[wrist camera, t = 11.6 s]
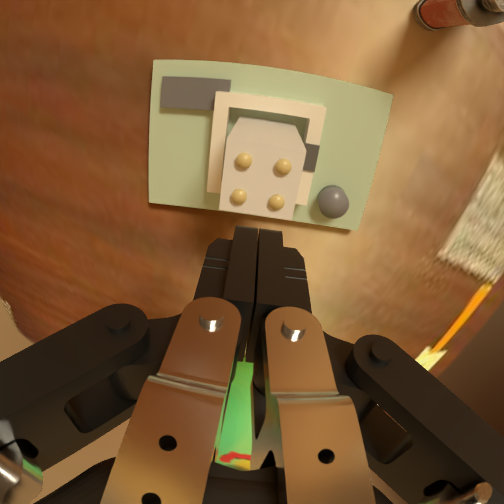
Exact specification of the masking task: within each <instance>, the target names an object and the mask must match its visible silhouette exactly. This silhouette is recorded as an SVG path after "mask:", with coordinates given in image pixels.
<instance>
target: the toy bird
mask: <svg viewBox="0 0 504 504" xmlns="http://www.w3.org/2000/svg"><path fill="white" fill-rule="evenodd" d="M245 359H246V357H244V359H243V362H239V361H238V362H237V368H236V374H235V378H234V380H233V382H232V384H231V389H230V394H229V399H228V404H227V409H226V414H225V419H224V424H223V429H222V434H221V439H220V444H219V450H218V456H217V461H216V463H219V464H222V465H225V466H227V467H230V468H233V469H236V470H240V471H250V460H251V451H252V424H251V395H250V384H251V380H252V376H253V363H249V362H245Z"/></svg>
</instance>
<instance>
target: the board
mask: <svg viewBox="0 0 504 504" xmlns="http://www.w3.org/2000/svg"><path fill="white" fill-rule="evenodd" d="M392 100H393V94H390V93H386V92H383V91H379V90H376V89H372V88H369V87H365V86H361V85H358V84H354V83H350V82H346V81H341V80H337V79H333V78H328V77H323V76H319V75H314V74H308V73H303V72H298V71H292V70H286V69H279V68H272V67H265V66H257V65H249V64H239V63H228V62H215V61H197V60H154V62H153V74H152V88H151V104H150V127H149V203H158V204H167V205H176V206H184V207H193V208H201V209H209V210H217V211H224V210H219V205H220V195H221V186H222V176H223V167H224V159H225V150H226V141H227V137H228V136H229V134H230V132H231V131H232V129H233V127H234V126H235V124H236V122H237V121H238V119H239V117H240V116H247V117H255V118H261V119H268V120H274V121H281V122H286V123H292V124H295V126H296V128H297V130H298V133H299V135H300V137H301V139H302V142H303V144H304V146H305V148H306V156H305V161H304V166H303V170H302V175H301V180H300V184H299V189H298V194H297V198H296V203H295V208H294V212H293V217H292V220H291V221H297V222H304V223H311V224H317V225H324V226H330V227H336V228H343V229H349V230H355V231H358V228H359V225H360V222H361V218H362V215H363V212H364V209H365V205H366V202H367V198H368V195H369V192H370V188H371V185H372V181H373V177H374V174H375V170H376V166H377V163H378V159H379V155H380V151H381V147H382V143H383V139H384V135H385V131H386V127H387V122H388V118H389V114H390V109H391V104H392ZM225 212H231V211H225ZM233 213H238V212H233ZM240 214H245V213H240ZM248 215H252V214H248ZM255 216H259V215H255ZM263 217H266V216H263ZM270 218H272V217H270ZM277 219H279V218H277ZM284 220H285V219H284Z"/></svg>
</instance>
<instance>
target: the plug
mask: <svg viewBox="0 0 504 504" xmlns="http://www.w3.org/2000/svg"><path fill="white" fill-rule="evenodd" d="M305 156H306V148H305V146H304V144H303V142H302V139H301V137H300V135H299V133H298V130H297V128H296V126H295V124H292V123H286V122H281V121H274V120H268V119H261V118H255V117H247V116H240V117H239V119H238V121H237V122H236V124H235V126H234V127H233V129H232V131H231V132H230V134H229V136H228V137H227V141H226V150H225V159H224V167H223V176H222V186H221V195H220V205H219V210H224V211H231V212H238V213H245V214H252V215H259V216H266V217H272V218H279V219H285V220H292V217H293V212H294V208H295V203H296V198H297V194H298V189H299V184H300V180H301V175H302V170H303V166H304V161H305Z"/></svg>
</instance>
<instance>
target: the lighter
mask: <svg viewBox="0 0 504 504" xmlns="http://www.w3.org/2000/svg"><path fill="white" fill-rule="evenodd" d="M413 14H414V17H415V19H416V21H417V22H418V24H419V25H420V26H421V27H423V28H424V29H426V30H429V31H434V30H440V29H443V28H447V27H450V26H458V25H469V24H471V25H473V26H475V27H483V26H489V25H493V24H498V23H501V22H503V21H504V0H419V1H418V2H417V3H416V4H415V6H414V8H413Z"/></svg>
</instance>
